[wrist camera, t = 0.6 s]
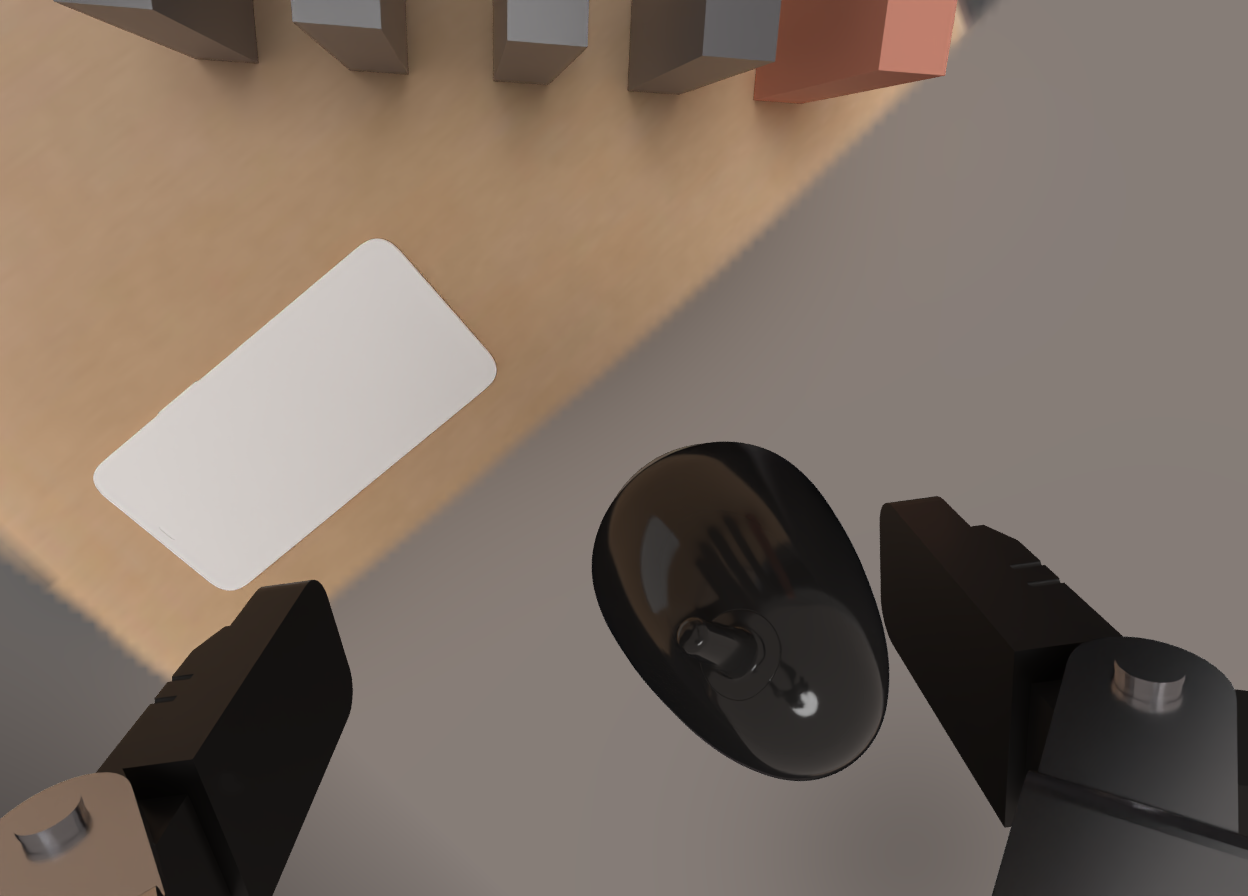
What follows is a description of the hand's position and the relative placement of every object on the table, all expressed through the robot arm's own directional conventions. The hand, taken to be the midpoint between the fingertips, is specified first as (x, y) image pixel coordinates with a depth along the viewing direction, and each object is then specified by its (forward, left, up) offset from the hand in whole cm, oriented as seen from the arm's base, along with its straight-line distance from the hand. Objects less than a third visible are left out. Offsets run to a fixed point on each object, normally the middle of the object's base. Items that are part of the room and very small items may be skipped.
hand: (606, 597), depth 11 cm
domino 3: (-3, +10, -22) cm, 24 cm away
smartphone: (-6, -7, -23) cm, 24 cm away
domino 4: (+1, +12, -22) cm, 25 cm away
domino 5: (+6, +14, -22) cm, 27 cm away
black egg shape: (+11, -6, -22) cm, 25 cm away
